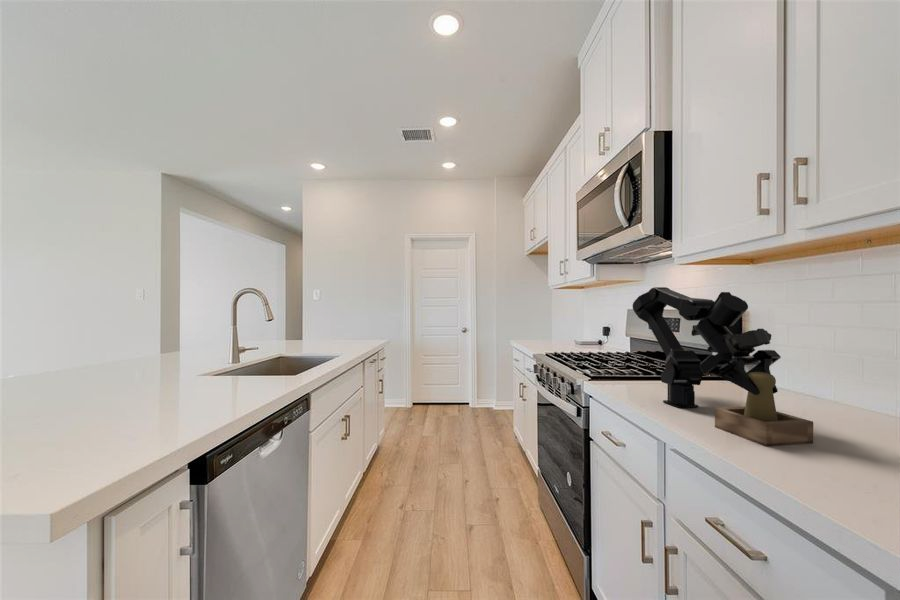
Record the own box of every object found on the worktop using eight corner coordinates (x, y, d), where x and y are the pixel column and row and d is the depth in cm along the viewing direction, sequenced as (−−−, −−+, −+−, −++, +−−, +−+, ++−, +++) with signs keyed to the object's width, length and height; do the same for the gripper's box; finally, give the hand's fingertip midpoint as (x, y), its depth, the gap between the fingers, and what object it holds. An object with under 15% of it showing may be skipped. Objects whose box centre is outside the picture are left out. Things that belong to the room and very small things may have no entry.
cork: (758, 425, 80) (759, 375, 80) (736, 416, 86) (736, 369, 86) (786, 425, 80) (786, 375, 80) (761, 416, 86) (761, 369, 86)
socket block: (714, 427, 87) (714, 408, 87) (756, 424, 90) (756, 405, 90) (766, 446, 76) (766, 424, 76) (813, 442, 78) (813, 421, 78)
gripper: (712, 317, 84) (764, 375, 74) (772, 316, 89) (828, 370, 78) (682, 347, 92) (725, 403, 81) (738, 344, 97) (786, 397, 86)
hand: (766, 393), depth 81 cm, fingers closed on cork, 5 cm apart
